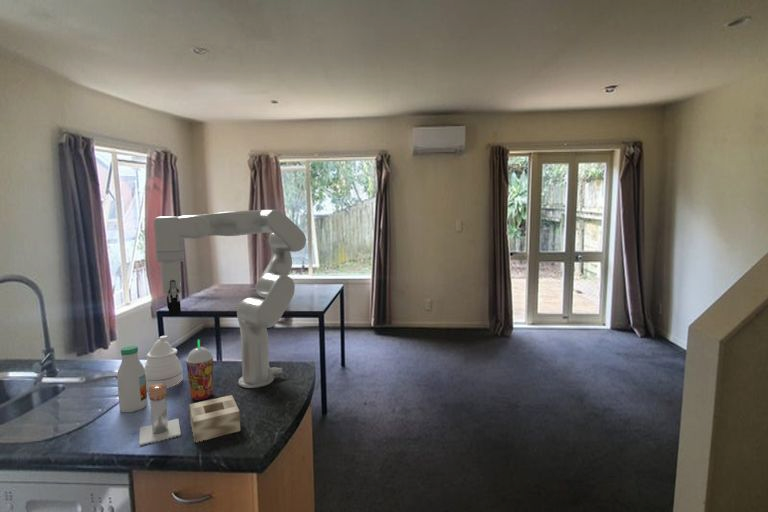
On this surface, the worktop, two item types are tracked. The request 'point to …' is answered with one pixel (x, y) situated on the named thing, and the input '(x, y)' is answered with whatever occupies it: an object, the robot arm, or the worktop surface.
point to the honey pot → (163, 365)
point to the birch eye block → (214, 418)
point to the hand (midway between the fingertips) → (174, 311)
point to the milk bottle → (131, 381)
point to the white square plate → (149, 437)
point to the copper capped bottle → (158, 408)
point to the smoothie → (200, 372)
